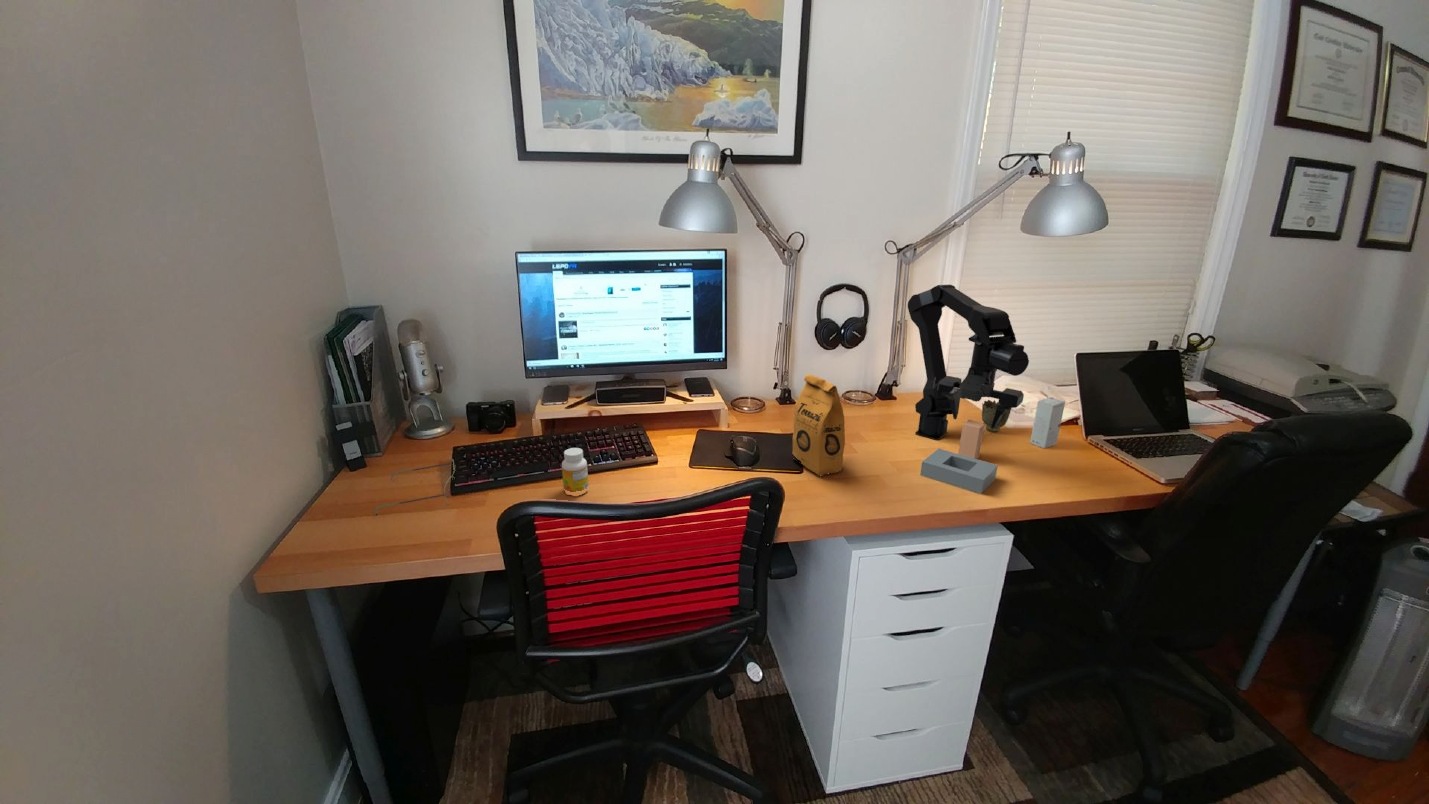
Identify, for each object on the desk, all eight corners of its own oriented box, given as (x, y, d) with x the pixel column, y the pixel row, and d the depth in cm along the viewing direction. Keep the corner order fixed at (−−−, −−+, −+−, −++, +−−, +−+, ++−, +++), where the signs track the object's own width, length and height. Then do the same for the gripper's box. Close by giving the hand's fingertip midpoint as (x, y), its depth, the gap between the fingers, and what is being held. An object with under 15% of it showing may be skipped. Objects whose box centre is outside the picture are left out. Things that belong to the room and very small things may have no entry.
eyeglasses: (454, 507, 127) (450, 486, 125) (375, 517, 123) (371, 495, 121) (461, 474, 141) (458, 454, 139) (391, 482, 137) (387, 462, 135)
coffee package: (813, 480, 139) (820, 390, 131) (786, 458, 149) (791, 374, 142) (849, 472, 142) (857, 385, 135) (820, 452, 153) (826, 370, 146)
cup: (984, 423, 173) (989, 397, 170) (1011, 431, 168) (1016, 404, 165) (973, 430, 168) (978, 403, 165) (1000, 438, 163) (1005, 410, 160)
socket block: (920, 474, 142) (922, 461, 140) (936, 461, 149) (938, 448, 148) (981, 494, 133) (983, 480, 132) (995, 478, 140) (997, 465, 139)
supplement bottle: (561, 488, 134) (557, 449, 130) (584, 483, 136) (581, 444, 133) (568, 499, 129) (564, 458, 126) (592, 493, 132) (589, 453, 128)
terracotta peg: (957, 457, 151) (962, 424, 148) (963, 452, 154) (968, 419, 151) (973, 461, 149) (979, 428, 146) (979, 456, 152) (985, 423, 148)
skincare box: (1045, 449, 156) (1054, 405, 152) (1028, 443, 160) (1037, 400, 156) (1057, 443, 160) (1067, 401, 155) (1041, 438, 163) (1050, 396, 159)
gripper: (932, 362, 143) (924, 423, 148) (1015, 379, 132) (1003, 444, 137) (950, 353, 151) (941, 411, 156) (1029, 368, 139) (1017, 430, 145)
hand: (973, 423), depth 148 cm, fingers open, 9 cm apart
